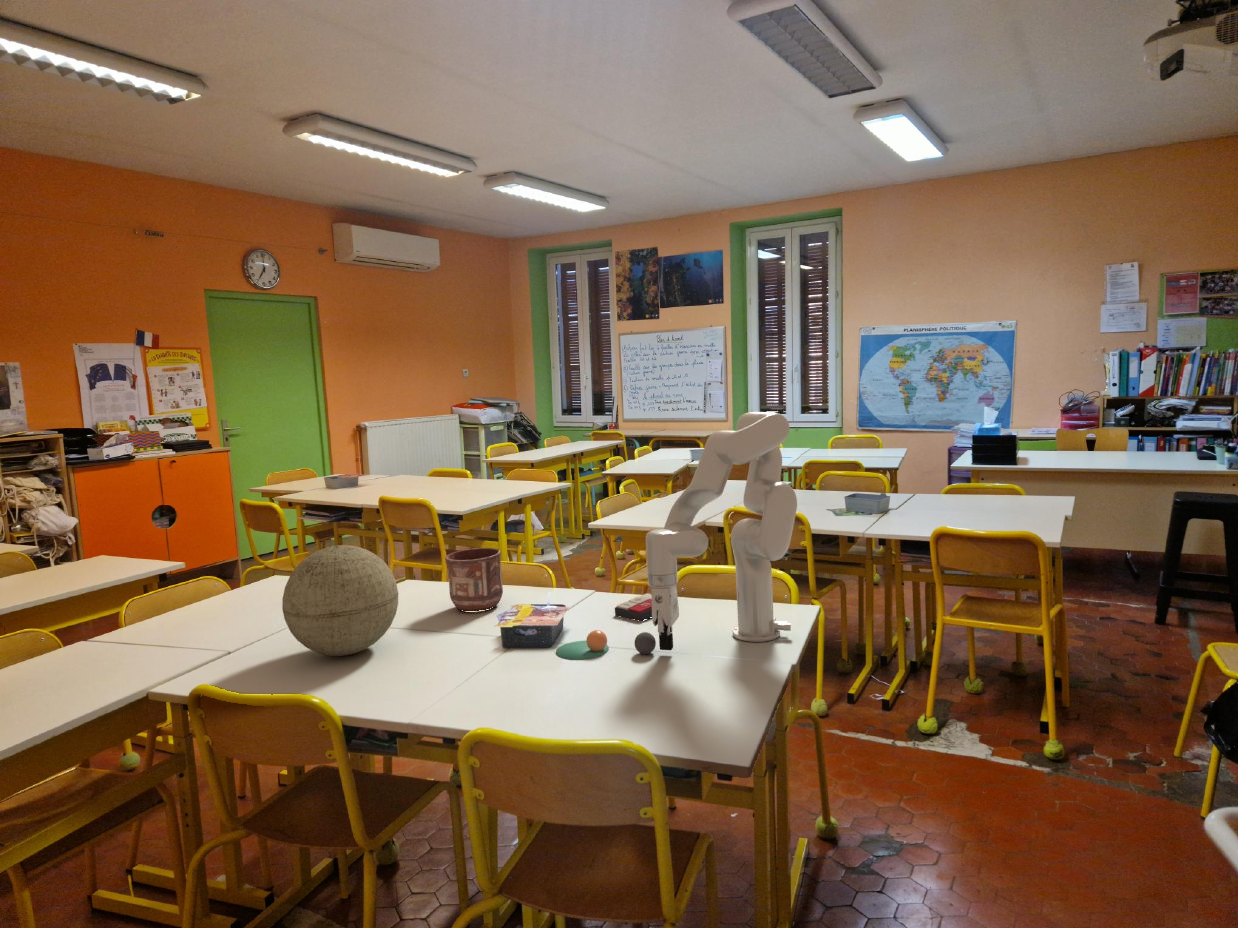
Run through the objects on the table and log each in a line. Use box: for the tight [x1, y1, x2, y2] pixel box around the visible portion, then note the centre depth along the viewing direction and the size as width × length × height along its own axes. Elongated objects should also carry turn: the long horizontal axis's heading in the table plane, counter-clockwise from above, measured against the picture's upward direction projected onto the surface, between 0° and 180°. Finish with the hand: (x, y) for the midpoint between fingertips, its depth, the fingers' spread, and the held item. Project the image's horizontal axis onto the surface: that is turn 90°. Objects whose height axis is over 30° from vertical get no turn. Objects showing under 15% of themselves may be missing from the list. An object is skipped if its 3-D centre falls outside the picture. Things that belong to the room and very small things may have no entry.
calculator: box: [614, 593, 652, 622], centre depth 230 cm, size 11×4×15 cm
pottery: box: [444, 547, 504, 611], centre depth 245 cm, size 18×18×18 cm
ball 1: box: [585, 629, 608, 652], centre depth 198 cm, size 6×6×6 cm
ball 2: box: [634, 631, 657, 655], centre depth 194 cm, size 6×6×6 cm
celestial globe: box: [281, 544, 399, 657], centre depth 207 cm, size 30×30×30 cm
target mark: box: [555, 640, 610, 661], centre depth 200 cm, size 14×14×1 cm
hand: (666, 648), depth 193 cm, fingers closed
